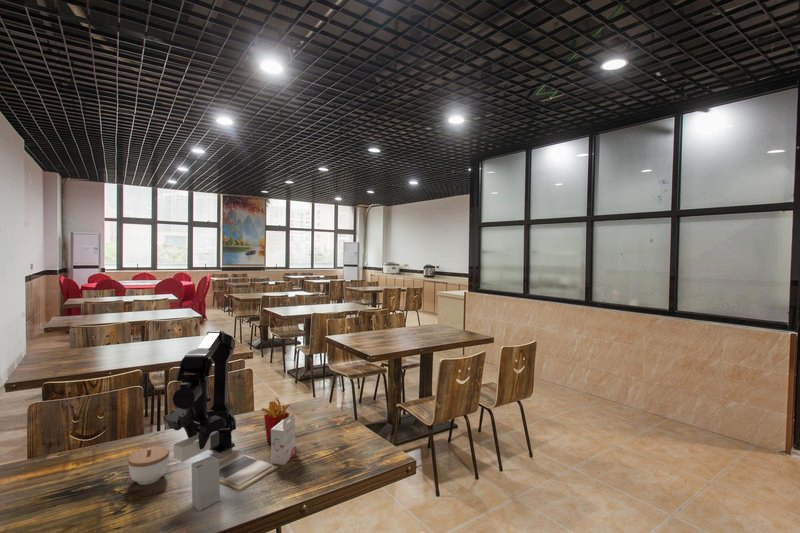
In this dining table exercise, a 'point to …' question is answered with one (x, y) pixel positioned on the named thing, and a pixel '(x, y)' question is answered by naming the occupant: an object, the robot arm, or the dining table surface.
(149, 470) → the lidded jar
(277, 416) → the french fries
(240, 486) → the picture frame
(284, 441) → the ink cartridge box
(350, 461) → the dining table surface
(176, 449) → the tall cream pillar
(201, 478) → the skincare box
